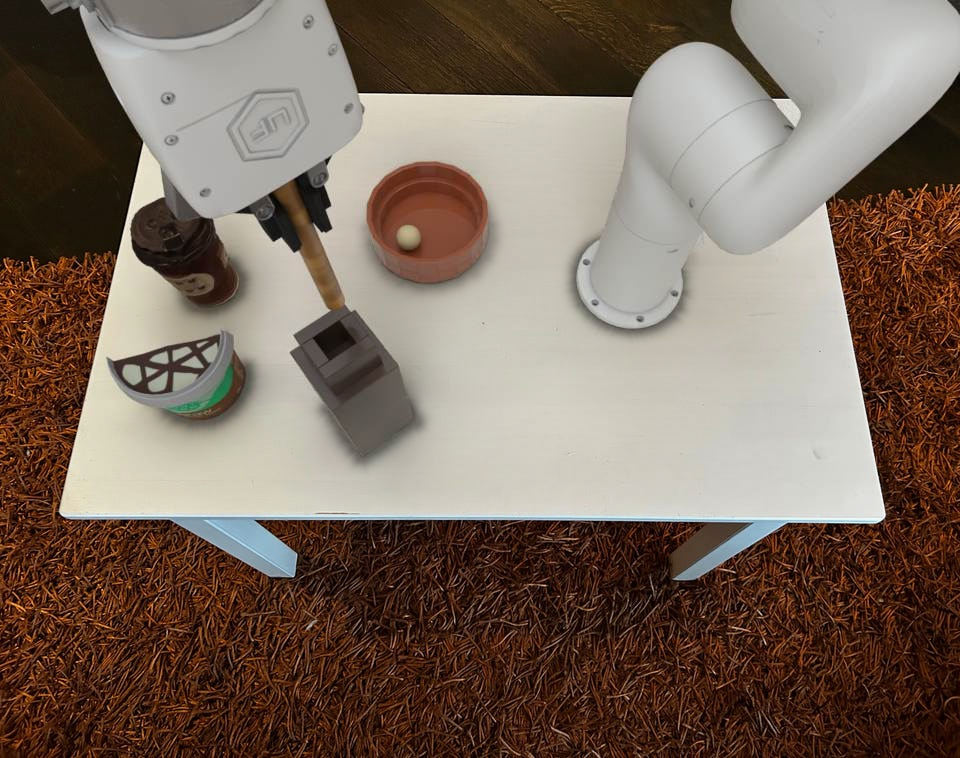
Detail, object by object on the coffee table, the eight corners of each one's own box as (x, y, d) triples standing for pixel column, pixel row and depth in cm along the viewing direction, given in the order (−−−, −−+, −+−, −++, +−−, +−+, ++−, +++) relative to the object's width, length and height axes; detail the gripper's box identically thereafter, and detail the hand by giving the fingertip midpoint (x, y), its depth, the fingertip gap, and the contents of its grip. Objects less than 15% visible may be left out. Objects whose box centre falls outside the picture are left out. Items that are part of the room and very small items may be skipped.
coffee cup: (233, 324, 76) (187, 266, 64) (166, 311, 77) (107, 252, 65) (257, 261, 79) (217, 194, 67) (192, 249, 80) (141, 181, 68)
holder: (379, 373, 74) (346, 287, 55) (415, 420, 72) (393, 347, 53) (327, 409, 72) (275, 332, 54) (362, 457, 71) (321, 396, 52)
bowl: (442, 169, 84) (440, 142, 80) (510, 243, 80) (512, 220, 76) (350, 225, 81) (342, 200, 76) (416, 306, 77) (413, 285, 72)
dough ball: (412, 229, 80) (410, 215, 77) (426, 246, 79) (425, 232, 77) (392, 242, 80) (389, 228, 77) (406, 259, 79) (404, 245, 76)
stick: (338, 289, 52) (279, 153, 37) (349, 303, 51) (294, 171, 36) (321, 300, 51) (255, 167, 36) (332, 314, 51) (270, 186, 36)
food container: (154, 443, 71) (105, 415, 62) (148, 392, 73) (100, 358, 64) (266, 413, 72) (235, 381, 63) (257, 364, 74) (226, 326, 65)
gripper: (20, 108, 22) (224, 337, 39) (401, -90, 25) (434, 201, 42) (-66, -18, 24) (164, 252, 41) (296, -185, 27) (368, 129, 44)
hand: (300, 225), depth 42 cm, fingers closed on stick, 1 cm apart
